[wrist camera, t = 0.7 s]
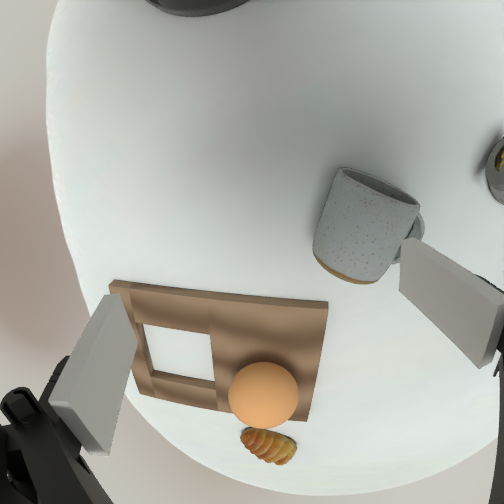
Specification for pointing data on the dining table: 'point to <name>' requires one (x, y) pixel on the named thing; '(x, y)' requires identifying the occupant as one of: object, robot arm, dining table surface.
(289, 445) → the pastry
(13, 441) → the robot arm
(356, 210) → the ceramic mug
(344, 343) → the dining table surface
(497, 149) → the pocket watch
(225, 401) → the hole board
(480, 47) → the dining table surface
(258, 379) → the ball
